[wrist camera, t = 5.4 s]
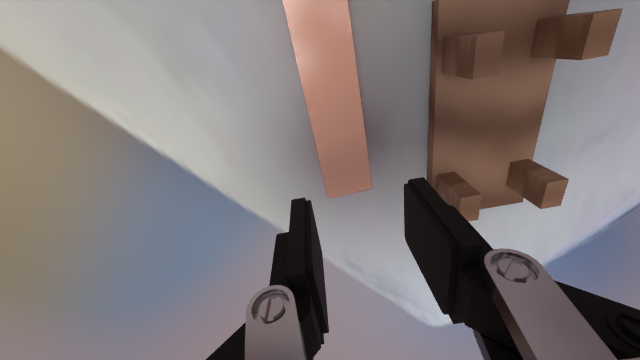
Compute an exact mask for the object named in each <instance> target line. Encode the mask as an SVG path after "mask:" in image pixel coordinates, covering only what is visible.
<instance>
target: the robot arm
mask: <svg viewBox="0 0 640 360" xmlns="http://www.w3.org/2000/svg"><path fill="white" fill-rule="evenodd" d="M404 224H405V239H406V242H407V245H408V246H409V248H410V250H411V252H412V254H413V256H414V258H415V260H416V262H417V264H418V266H419V268H420V270H421V272H422V274H423V276H424V278H425V280H426V282H427V284H428V286H429V288H430V289H431V291H432V293H433V295H434V297H435V299H436V301H437V303H438V305H439V307H440V309H441V311H442V313H443V314H445V315H446V314H449V316H450V318H451V320H452V322H453V324H457V323H463V322H464V323H465V325H466V326H468V327H470V328H472V329H473V333H474V336H475V338H476V341H477V344H478V346H479V349H480V351H481V354H482V356H483V359H484V360H640V310H638V309H635V308H632V307H629V306H626V305H624V304H621V303H618V302H615V301H612V300H609V299H606V298H603V297H600V296H598V295H595V294H592V293H589V292H586V291H583V290H580V289H577V288H575V287H572V286H569V285H566V284H563V283H560V282H557V281H555V280H553V279H552V277H551V276H550V275H549V274H548V272H547V271H546V270H545V269H544V267H543V266H542V265H541V264H540V263H539V262H538V261H537V260H536V259H534V258H532V257H531V256H529V255H527V254H525V253H522V252H520V251H516V250H512V249H502V248H501V249H493V248H492V247H491V246H490V245H489V244H488V243H487V242H486V241H485V240H484V239H483V237H482V236H481V235H480V234H479V233H478V232H477V231H476V230H475V229H474V228H473V226H472V225H471V224H470V223H469V222H468V221H467V220H466V219H465V218H464V217H463V216H462V214H461V213H460V212H459V211H458V210H457V209H456V208H455V207H454V206H452V205H448V204H447V203H446V202H445V201H444V200H443V199H442V197H441V196H440V195H439V194H438V193H437V192H436V191H435V189H434V188H433V187H432V186H431V185H430V184H429V183H428V182H427V180H426V179H425V178H424V177H422V178H416V179H410V180H409V181H408V183H407V184H404ZM328 332H329V327H328V316H327V304H326V292H325V282H324V269H323V258H322V250H321V245H320V241H319V236H318V232H317V227H316V222H315V218H314V213H313V209H312V204H311V200H308V201H306V199H305V198H299V199H294V200H292V201H291V214H290V227H289V232H286V233H280V234H277V236H276V242H275V249H274V256H273V264H272V271H271V278H270V285H269V286H268V287H266V288H264V289H262V290H260V291H259V292H258V293H256V294H255V295H254V297H253V298H252V299H251V300H250V302H249V304H248V306H247V311H246V322H245V323H244V324H243V325H242V326H241V327H240V328H239V329H238V330H237V331H236V332H235V333H234V334H233V335H232V336H231V337H229V338H228V339H227V340H226V341H225V342H224V343H223V344H222V345H221V346H220V347H219V348H218V349H217V350H216V351H215V352H214V353H212V354H211V355H210V356H209V357H208V358H207V359H206V360H314V358H313V357H314V356H315V355H316V353H317V352H318V351H319V350H320V348H321V344H324V335H323V334H324V333H328Z"/></svg>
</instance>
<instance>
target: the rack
mask: <svg viewBox="0 0 640 360" xmlns="http://www.w3.org/2000/svg"><path fill="white" fill-rule="evenodd" d="M568 4H569V0H436V1H433V2H432V36H431V70H430V105H429V140H428V175H427V182H428V183H429V184H430V185H431V186H432V187H433V188H434V189H435V191H436V192H437V193H438V194H439V195H440V196H441V197H442V199H443V200H444V201H445V202H446V203H447V204H448V205H452V206H454V207H455V208H456V209H457V210H458V211H459V212H460V213H461V214H462V216H463V217H464V218H465V219H466V220H467V221H473V220H478V216H479V209H484V208H490V207H496V206H502V205H508V204H514V203H519V202H523V198H525V199H527V200H528V201H530V202H531V203H532V204H534V205H535V206H537V207H538V208H540V209H543V208H549V207H555V206H561V202H562V199H563V196H564V193H565V190H566V187H567V183H568V180H569V179H567V178H565V177H563V176H561V175H559V174H557V173H555V172H553V171H551V170H549V169H547V168H545V167H543V166H541V165H539V164H537V163H536V162H534V161H532V159H533V155H534V150H535V146H536V142H537V137H538V133H539V129H540V125H541V120H542V116H543V112H544V107H545V103H546V99H547V94H548V90H549V86H550V81H551V77H552V73H553V69H554V64H555V60H556V59H573V60H584V59H589V58H595V57H600V56H606V55H608V53H609V50H610V47H611V44H612V41H613V37H614V34H615V31H616V28H617V25H618V21H619V18H620V15H621V12H622V9H623V8H622V9H613V10H604V11H595V12H586V13H578V14H569V15H566V13H567V8H568Z"/></svg>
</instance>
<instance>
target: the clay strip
mask: <svg viewBox="0 0 640 360" xmlns="http://www.w3.org/2000/svg"><path fill="white" fill-rule="evenodd" d="M283 4H284V8H285V13H286V17H287V22H288V26H289V30H290V35H291V39H292V43H293V48H294V52H295V57H296V61H297V65H298V70H299V74H300V78H301V83H302V87H303V91H304V96H305V100H306V105H307V109H308V113H309V118H310V122H311V126H312V131H313V135H314V140H315V144H316V148H317V153H318V157H319V161H320V166H321V170H322V175H323V179H324V183H325V188H326V192H327V196H328V198H332V197H337V196H342V195H346V194H351V193H356V192H361V191H365V190H370V189H373V188H372V181H371V173H370V166H369V158H368V150H367V143H366V135H365V128H364V120H363V112H362V105H361V97H360V89H359V82H358V74H357V67H356V59H355V51H354V44H353V36H352V29H351V21H350V13H349V6H348V0H283Z"/></svg>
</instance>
